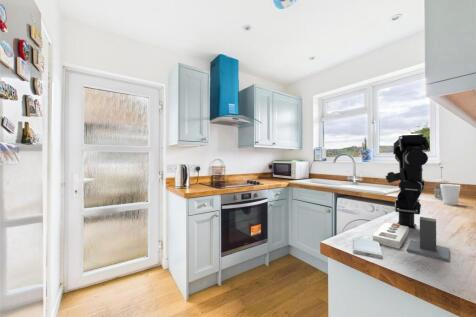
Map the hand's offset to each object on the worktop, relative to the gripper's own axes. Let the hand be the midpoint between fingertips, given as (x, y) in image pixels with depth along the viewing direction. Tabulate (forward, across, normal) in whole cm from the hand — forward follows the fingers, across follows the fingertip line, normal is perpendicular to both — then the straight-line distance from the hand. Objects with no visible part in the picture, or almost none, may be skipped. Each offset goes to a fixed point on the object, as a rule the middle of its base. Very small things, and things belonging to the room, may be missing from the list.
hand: (412, 205), depth 79 cm
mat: (+13, +10, +5) cm, 17 cm away
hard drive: (+14, +22, -10) cm, 28 cm away
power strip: (+13, +3, -6) cm, 15 cm away
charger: (+12, +10, +5) cm, 17 cm away
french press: (+12, -114, +6) cm, 115 cm away
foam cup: (+12, -96, +11) cm, 97 cm away
